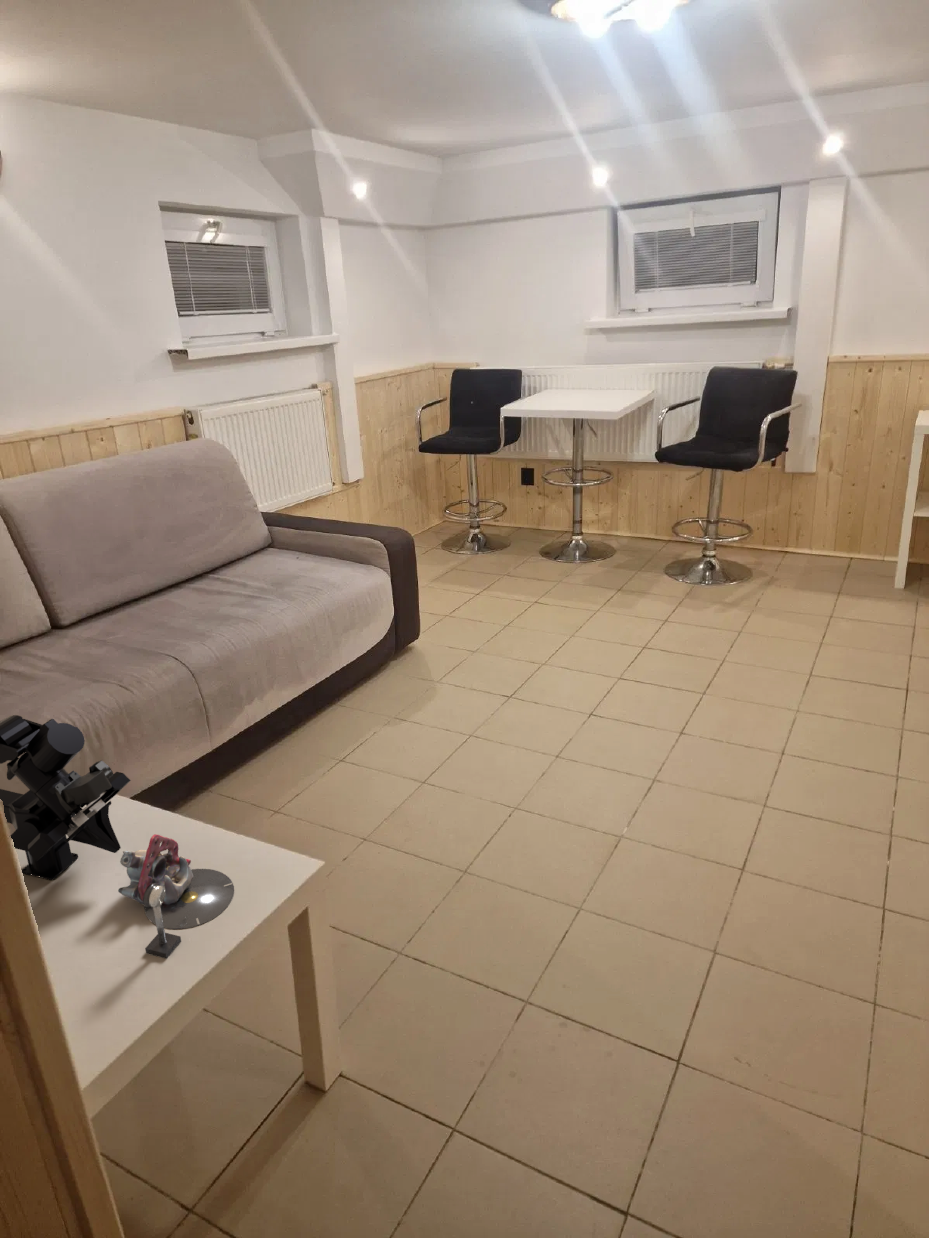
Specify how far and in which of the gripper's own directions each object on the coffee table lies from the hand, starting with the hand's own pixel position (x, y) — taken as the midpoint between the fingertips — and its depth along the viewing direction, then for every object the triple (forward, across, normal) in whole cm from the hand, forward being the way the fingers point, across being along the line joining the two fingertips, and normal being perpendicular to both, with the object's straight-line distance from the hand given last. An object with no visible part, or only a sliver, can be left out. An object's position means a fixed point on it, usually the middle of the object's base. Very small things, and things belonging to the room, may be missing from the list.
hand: (118, 850), depth 135 cm
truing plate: (+14, 0, -4) cm, 14 cm away
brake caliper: (+10, 0, 0) cm, 10 cm away
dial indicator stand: (+15, -10, -6) cm, 20 cm away
